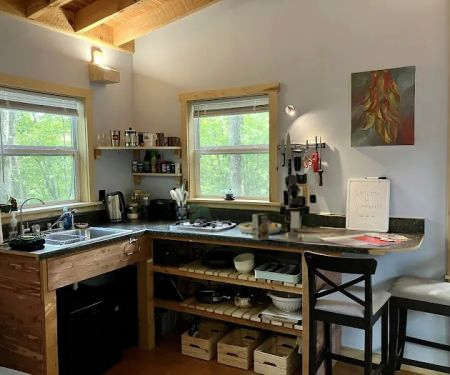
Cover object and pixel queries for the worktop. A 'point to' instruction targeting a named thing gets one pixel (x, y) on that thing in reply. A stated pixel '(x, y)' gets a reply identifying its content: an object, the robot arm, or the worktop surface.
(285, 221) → the robot arm
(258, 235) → the coffee box
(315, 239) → the tray
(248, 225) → the bowl
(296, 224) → the lever cap
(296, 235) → the plane body
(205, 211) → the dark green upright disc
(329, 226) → the worktop surface
